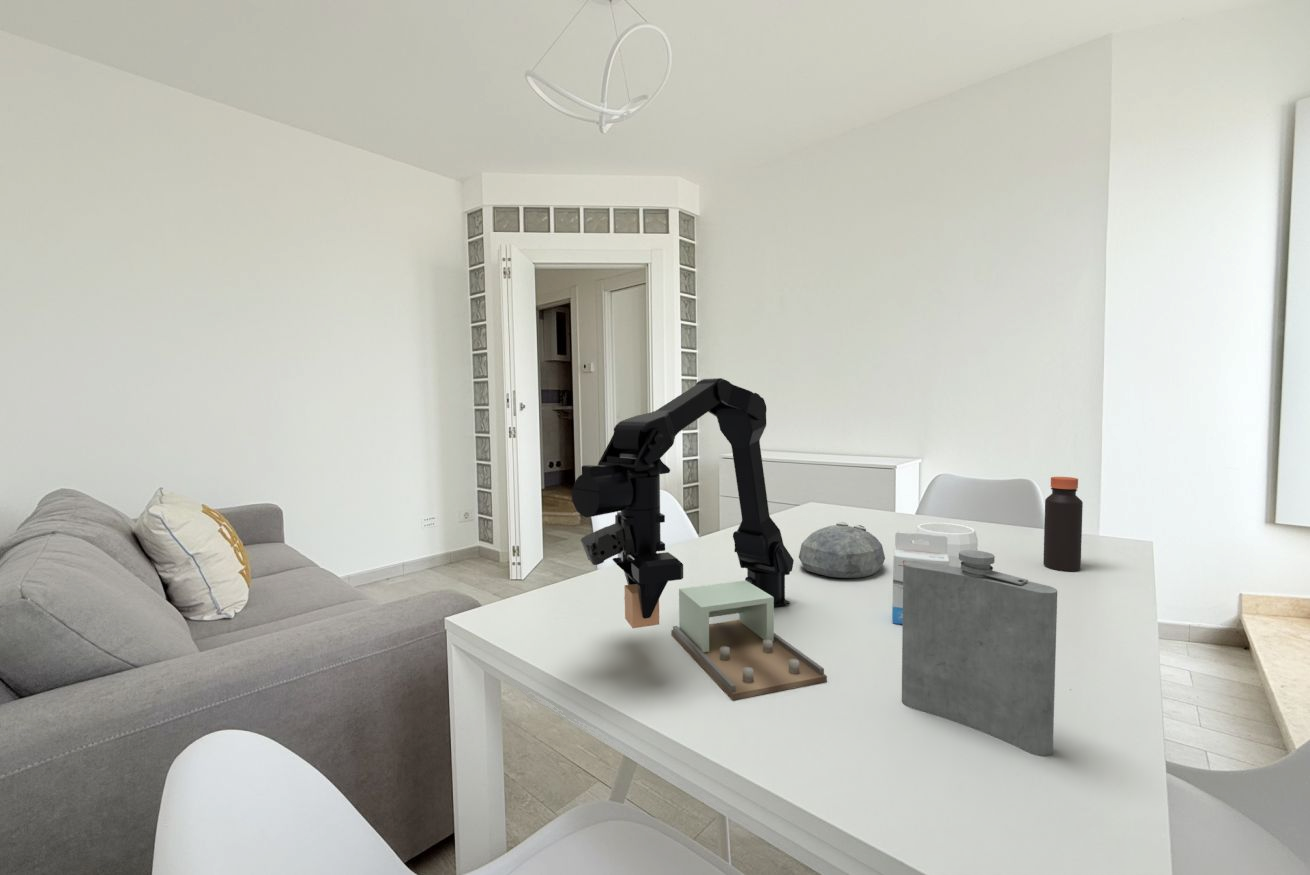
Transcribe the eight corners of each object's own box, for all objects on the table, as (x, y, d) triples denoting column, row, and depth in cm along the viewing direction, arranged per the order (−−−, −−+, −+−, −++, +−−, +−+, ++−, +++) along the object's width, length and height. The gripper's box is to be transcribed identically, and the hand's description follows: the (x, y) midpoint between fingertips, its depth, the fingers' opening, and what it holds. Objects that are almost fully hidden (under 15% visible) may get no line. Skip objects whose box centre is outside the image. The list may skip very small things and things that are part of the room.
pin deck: (748, 623, 98) (748, 609, 98) (826, 681, 77) (826, 664, 77) (671, 634, 93) (671, 620, 93) (732, 700, 72) (732, 682, 72)
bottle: (1039, 567, 127) (1041, 478, 126) (1047, 561, 132) (1050, 475, 131) (1076, 573, 123) (1079, 480, 121) (1084, 567, 127) (1086, 477, 126)
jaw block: (650, 614, 86) (650, 582, 86) (659, 624, 83) (658, 590, 82) (625, 618, 85) (624, 585, 85) (632, 628, 81) (632, 593, 81)
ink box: (891, 624, 97) (892, 537, 96) (892, 614, 101) (893, 531, 100) (948, 631, 93) (949, 542, 92) (947, 621, 97) (948, 535, 97)
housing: (745, 620, 96) (745, 580, 96) (773, 640, 88) (773, 597, 87) (679, 630, 92) (678, 588, 92) (701, 652, 84) (701, 607, 84)
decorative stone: (781, 569, 129) (781, 525, 129) (836, 553, 142) (836, 513, 141) (849, 588, 116) (849, 539, 115) (903, 569, 128) (904, 525, 127)
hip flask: (897, 702, 71) (899, 544, 70) (911, 691, 74) (913, 538, 73) (1048, 760, 60) (1053, 570, 59) (1058, 743, 62) (1063, 563, 61)
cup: (989, 580, 119) (990, 534, 119) (929, 580, 119) (930, 534, 119) (958, 563, 132) (959, 521, 131) (904, 564, 132) (905, 522, 131)
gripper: (572, 500, 89) (574, 599, 90) (601, 523, 71) (603, 646, 72) (641, 495, 93) (642, 590, 94) (684, 517, 75) (685, 633, 76)
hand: (641, 612), depth 84 cm, fingers closed on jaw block, 4 cm apart
